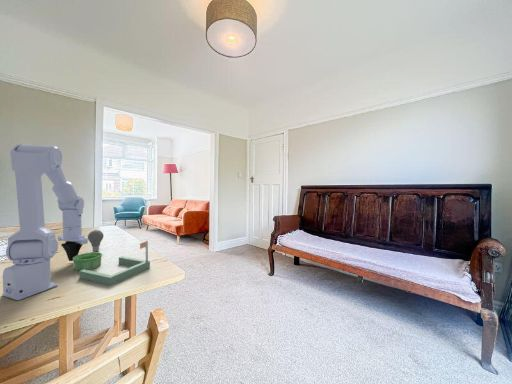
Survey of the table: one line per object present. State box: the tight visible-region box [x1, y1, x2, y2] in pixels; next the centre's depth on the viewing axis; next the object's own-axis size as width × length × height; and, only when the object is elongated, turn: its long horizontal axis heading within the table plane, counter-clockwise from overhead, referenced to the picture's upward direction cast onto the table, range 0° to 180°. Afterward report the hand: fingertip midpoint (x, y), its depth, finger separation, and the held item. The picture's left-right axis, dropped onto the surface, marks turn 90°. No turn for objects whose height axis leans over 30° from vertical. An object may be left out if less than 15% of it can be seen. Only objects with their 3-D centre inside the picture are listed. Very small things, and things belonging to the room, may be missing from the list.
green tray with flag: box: [78, 240, 151, 286], centre depth 79 cm, size 16×14×10 cm
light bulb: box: [87, 229, 104, 252], centre depth 103 cm, size 6×6×10 cm
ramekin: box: [72, 251, 103, 271], centre depth 84 cm, size 9×9×4 cm
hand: (72, 260), depth 87 cm, fingers closed
